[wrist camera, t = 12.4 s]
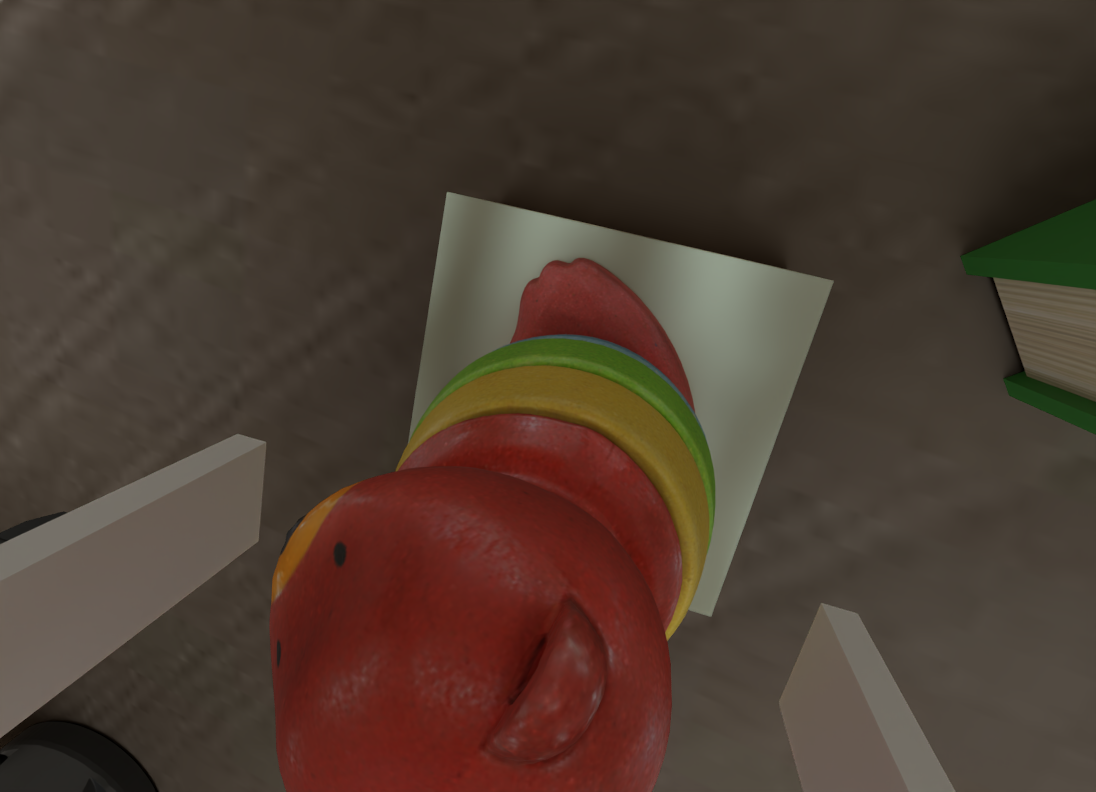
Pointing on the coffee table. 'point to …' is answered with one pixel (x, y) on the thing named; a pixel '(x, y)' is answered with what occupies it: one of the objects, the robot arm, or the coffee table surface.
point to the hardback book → (1050, 310)
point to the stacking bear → (505, 570)
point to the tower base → (679, 306)
